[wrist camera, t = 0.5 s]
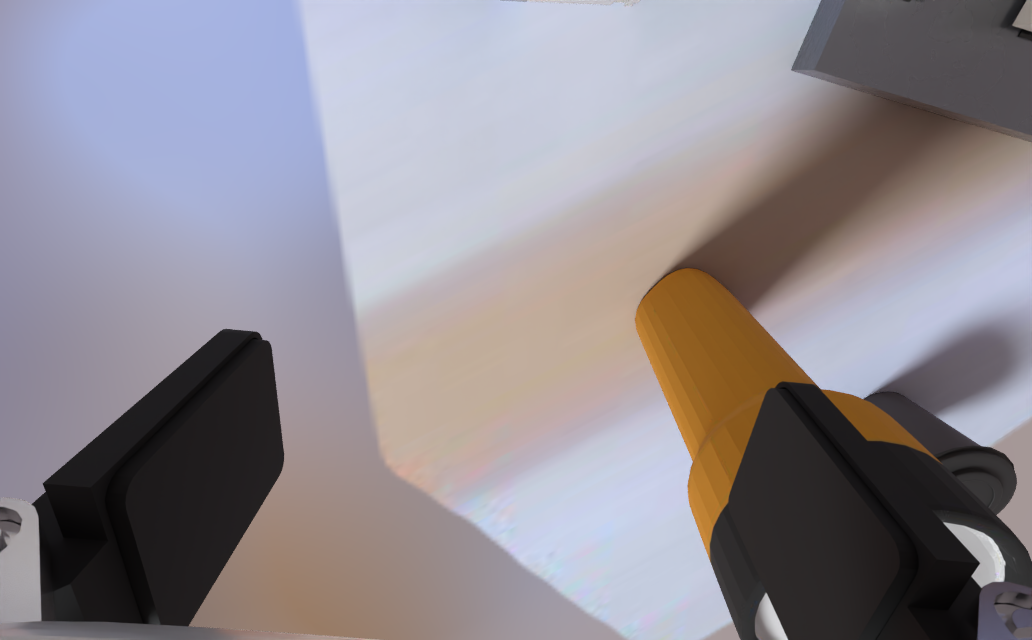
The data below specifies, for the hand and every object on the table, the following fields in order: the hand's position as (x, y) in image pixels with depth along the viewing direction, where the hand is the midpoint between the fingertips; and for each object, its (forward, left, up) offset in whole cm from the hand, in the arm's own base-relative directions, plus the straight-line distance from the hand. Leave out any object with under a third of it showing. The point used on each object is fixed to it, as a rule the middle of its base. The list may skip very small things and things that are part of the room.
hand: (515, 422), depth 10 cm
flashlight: (+8, +15, -30) cm, 35 cm away
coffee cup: (+13, +35, -30) cm, 48 cm away
